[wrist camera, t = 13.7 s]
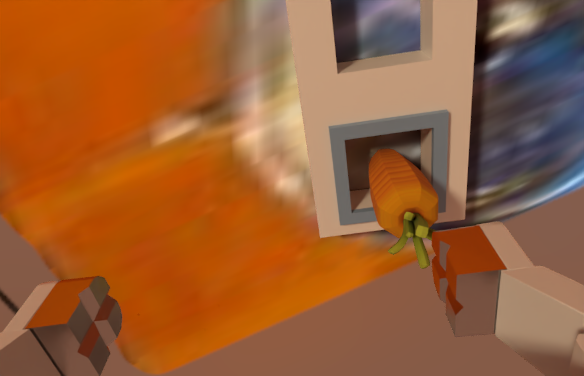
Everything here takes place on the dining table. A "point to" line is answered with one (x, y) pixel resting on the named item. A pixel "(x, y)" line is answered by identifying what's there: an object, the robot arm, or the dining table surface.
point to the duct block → (385, 107)
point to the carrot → (403, 201)
